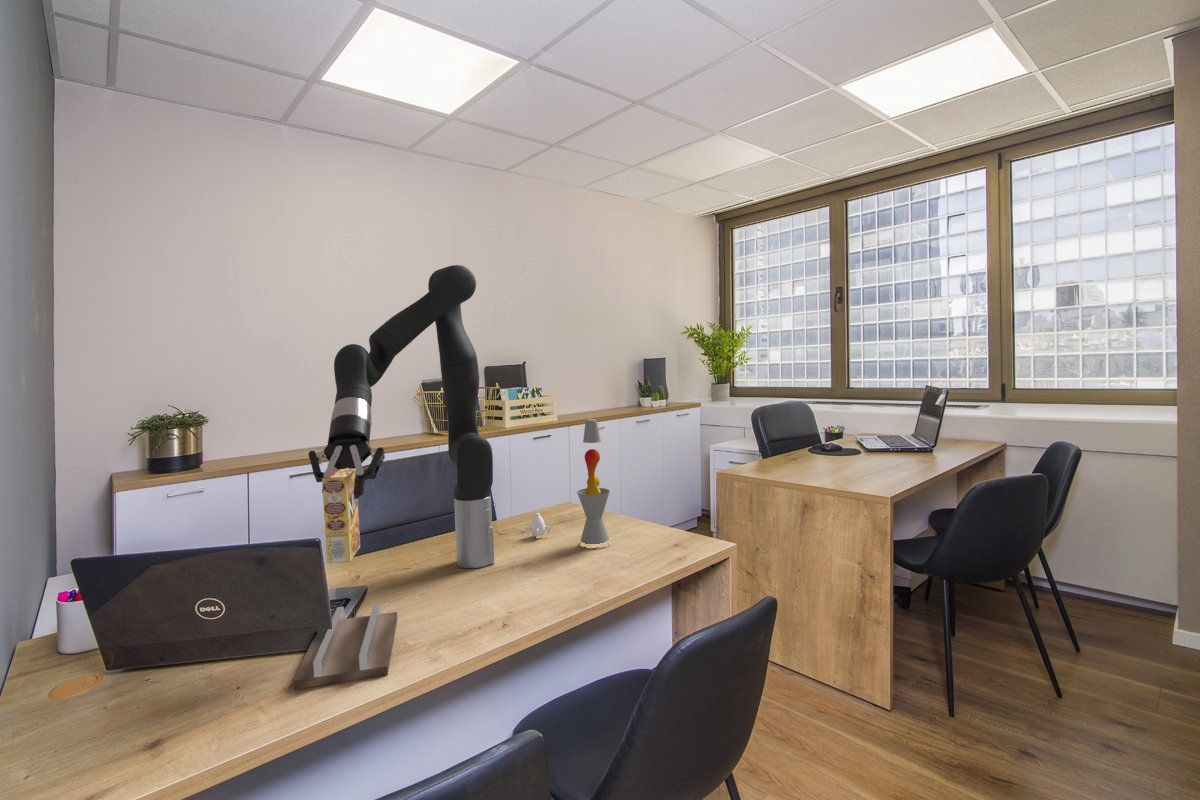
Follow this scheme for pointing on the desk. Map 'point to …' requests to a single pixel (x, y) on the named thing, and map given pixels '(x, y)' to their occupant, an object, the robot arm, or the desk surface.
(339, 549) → the candy box
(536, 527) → the rocket toy
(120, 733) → the desk surface
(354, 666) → the track base
